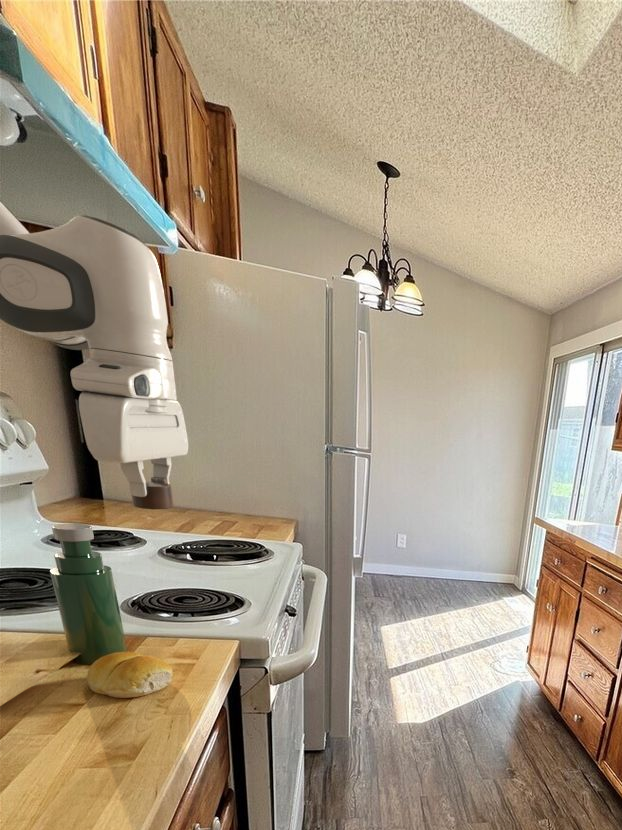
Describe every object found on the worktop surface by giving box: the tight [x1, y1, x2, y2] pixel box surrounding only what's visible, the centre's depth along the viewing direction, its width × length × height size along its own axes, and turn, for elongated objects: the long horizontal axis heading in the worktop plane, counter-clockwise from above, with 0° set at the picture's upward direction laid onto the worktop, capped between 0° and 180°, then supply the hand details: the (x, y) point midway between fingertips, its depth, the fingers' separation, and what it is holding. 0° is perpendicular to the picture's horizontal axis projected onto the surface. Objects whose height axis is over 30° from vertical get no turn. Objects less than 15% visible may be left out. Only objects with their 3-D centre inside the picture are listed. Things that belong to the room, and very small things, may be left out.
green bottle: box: [49, 523, 128, 665], centre depth 73 cm, size 6×6×18 cm
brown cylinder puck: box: [131, 480, 174, 510], centre depth 77 cm, size 5×5×3 cm
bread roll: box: [86, 651, 173, 699], centre depth 69 cm, size 8×9×4 cm
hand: (151, 493), depth 77 cm, fingers closed on brown cylinder puck, 5 cm apart
